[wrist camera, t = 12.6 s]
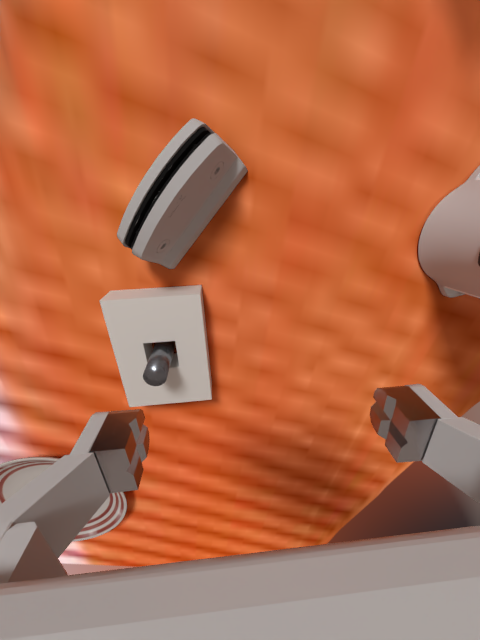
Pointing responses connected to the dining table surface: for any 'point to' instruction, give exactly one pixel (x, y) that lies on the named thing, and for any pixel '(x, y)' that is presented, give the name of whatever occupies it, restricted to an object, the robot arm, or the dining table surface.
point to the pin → (159, 363)
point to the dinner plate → (19, 472)
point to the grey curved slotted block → (180, 195)
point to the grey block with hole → (160, 326)
